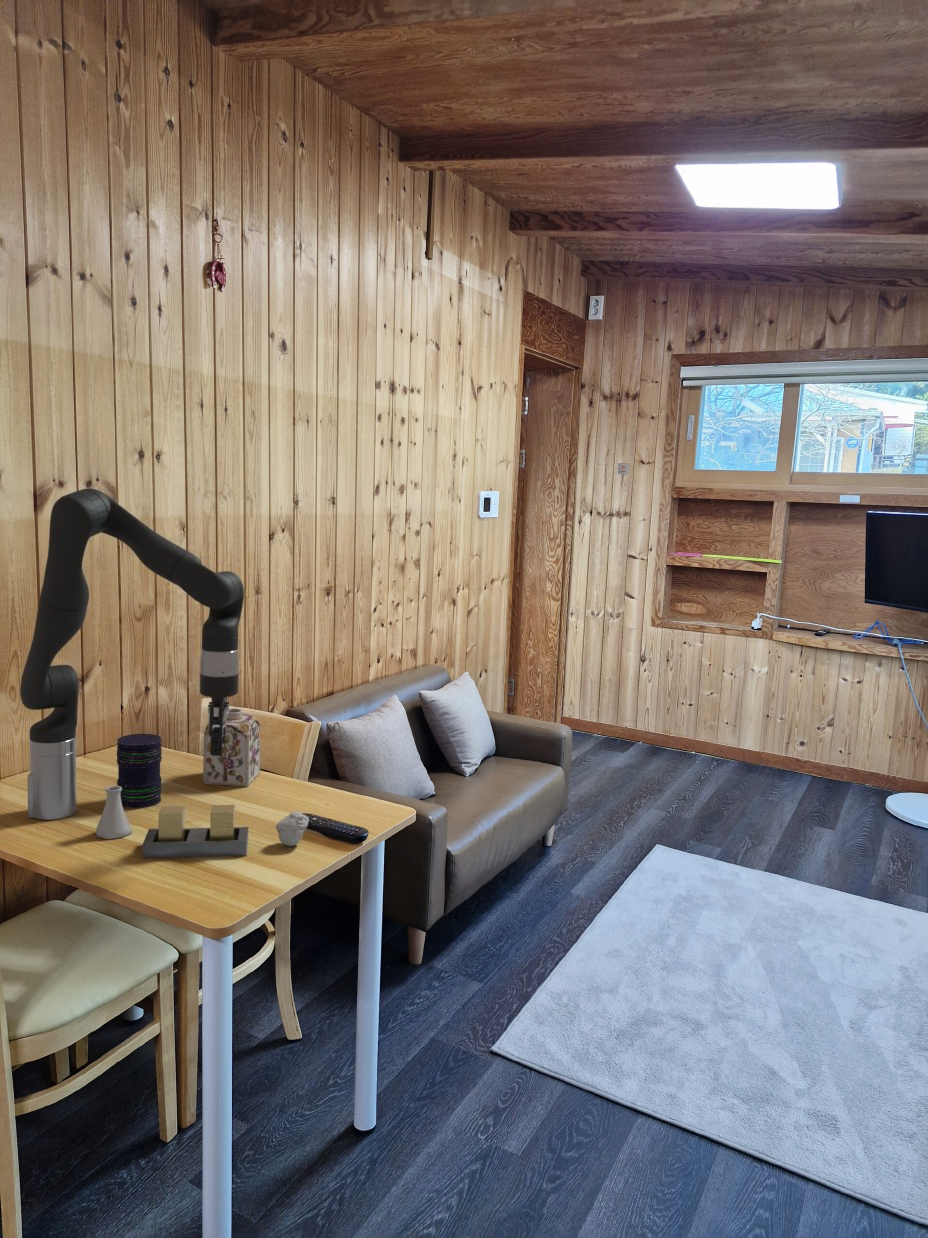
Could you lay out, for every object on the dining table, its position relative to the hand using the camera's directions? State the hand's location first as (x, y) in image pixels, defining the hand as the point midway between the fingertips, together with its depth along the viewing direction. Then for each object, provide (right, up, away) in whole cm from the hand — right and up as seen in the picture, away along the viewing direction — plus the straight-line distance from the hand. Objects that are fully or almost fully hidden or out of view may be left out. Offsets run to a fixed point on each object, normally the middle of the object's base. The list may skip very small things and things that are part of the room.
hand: (217, 749), depth 183 cm
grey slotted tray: (-4, -21, +1) cm, 21 cm away
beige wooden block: (0, -20, +2) cm, 20 cm away
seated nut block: (-9, -20, 0) cm, 22 cm away
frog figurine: (+14, -21, +5) cm, 26 cm away
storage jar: (-26, -16, +27) cm, 41 cm away
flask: (-24, -19, +7) cm, 31 cm away
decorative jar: (-9, -15, +46) cm, 49 cm away
